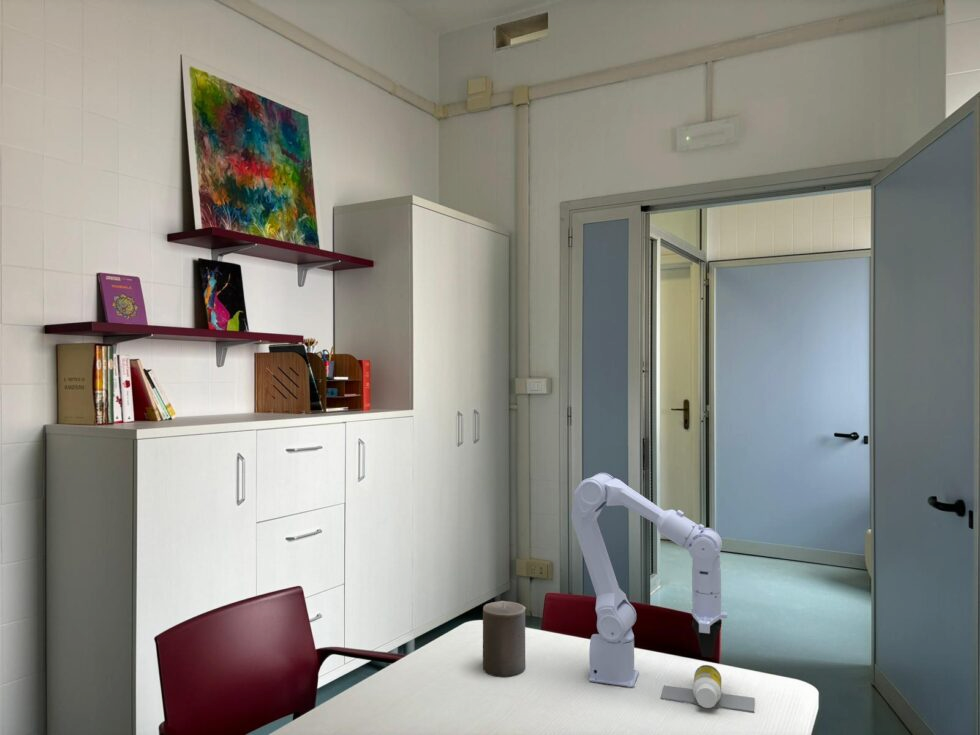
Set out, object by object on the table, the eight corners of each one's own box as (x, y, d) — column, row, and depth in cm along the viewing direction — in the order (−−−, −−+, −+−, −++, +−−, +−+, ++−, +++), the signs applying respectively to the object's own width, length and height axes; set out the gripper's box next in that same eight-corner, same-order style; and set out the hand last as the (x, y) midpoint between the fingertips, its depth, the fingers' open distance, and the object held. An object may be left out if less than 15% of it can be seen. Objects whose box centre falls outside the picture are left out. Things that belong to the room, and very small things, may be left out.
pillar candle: (488, 679, 157) (488, 610, 157) (478, 661, 167) (478, 596, 167) (531, 675, 159) (530, 607, 159) (519, 657, 169) (519, 593, 169)
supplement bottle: (724, 689, 149) (723, 711, 140) (697, 690, 151) (694, 712, 141) (718, 663, 149) (717, 683, 140) (692, 664, 151) (689, 685, 142)
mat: (660, 698, 147) (660, 697, 147) (663, 686, 152) (663, 685, 152) (754, 712, 141) (754, 711, 141) (754, 699, 146) (754, 697, 146)
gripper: (725, 603, 140) (726, 672, 140) (728, 581, 154) (729, 645, 154) (687, 599, 143) (688, 668, 143) (694, 578, 156) (695, 641, 156)
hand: (707, 656), depth 148 cm, fingers closed
